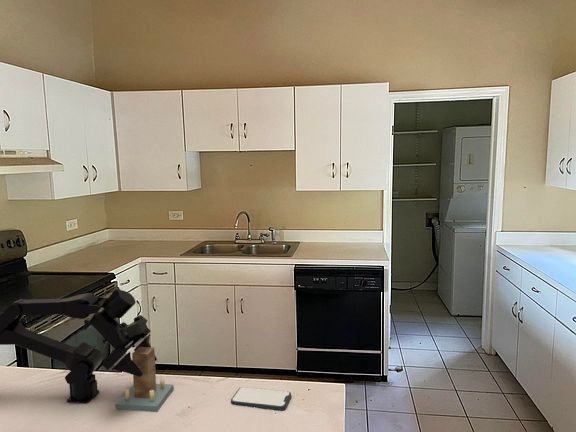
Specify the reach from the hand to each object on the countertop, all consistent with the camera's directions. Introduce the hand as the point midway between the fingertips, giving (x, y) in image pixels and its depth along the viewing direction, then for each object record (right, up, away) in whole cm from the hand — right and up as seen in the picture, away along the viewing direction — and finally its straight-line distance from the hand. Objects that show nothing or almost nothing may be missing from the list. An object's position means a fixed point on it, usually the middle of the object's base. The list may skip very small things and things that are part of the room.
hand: (148, 367), depth 125 cm
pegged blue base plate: (-1, -9, +1) cm, 9 cm away
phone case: (+32, -10, 0) cm, 33 cm away
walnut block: (-1, -8, +1) cm, 8 cm away
